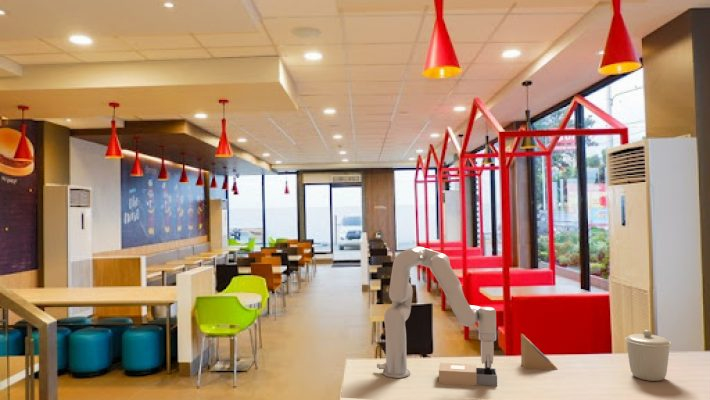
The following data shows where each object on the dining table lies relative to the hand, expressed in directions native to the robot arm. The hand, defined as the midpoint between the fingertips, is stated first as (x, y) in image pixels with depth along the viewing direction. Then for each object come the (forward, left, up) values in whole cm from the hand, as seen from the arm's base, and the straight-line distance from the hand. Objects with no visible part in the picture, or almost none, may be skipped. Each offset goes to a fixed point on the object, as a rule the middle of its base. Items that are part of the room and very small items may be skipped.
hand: (488, 377), depth 225 cm
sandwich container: (+25, +27, -3) cm, 37 cm away
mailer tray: (-4, 0, -2) cm, 4 cm away
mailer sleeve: (-13, 0, -2) cm, 13 cm away
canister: (+70, +19, -2) cm, 73 cm away
